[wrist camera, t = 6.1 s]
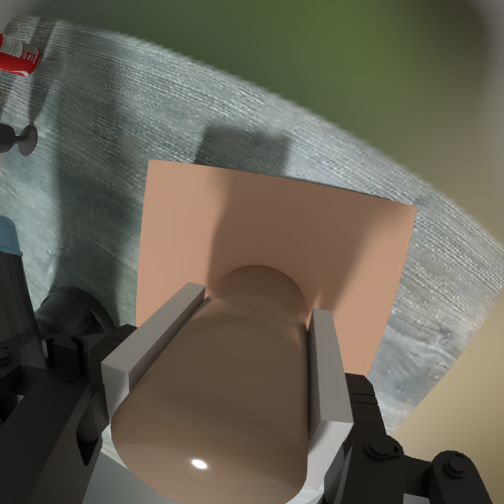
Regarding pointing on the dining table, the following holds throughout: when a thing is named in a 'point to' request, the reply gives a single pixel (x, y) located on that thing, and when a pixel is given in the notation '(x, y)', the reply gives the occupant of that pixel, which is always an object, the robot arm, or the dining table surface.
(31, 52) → the soda can
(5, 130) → the sundae
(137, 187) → the dining table surface
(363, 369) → the lid
